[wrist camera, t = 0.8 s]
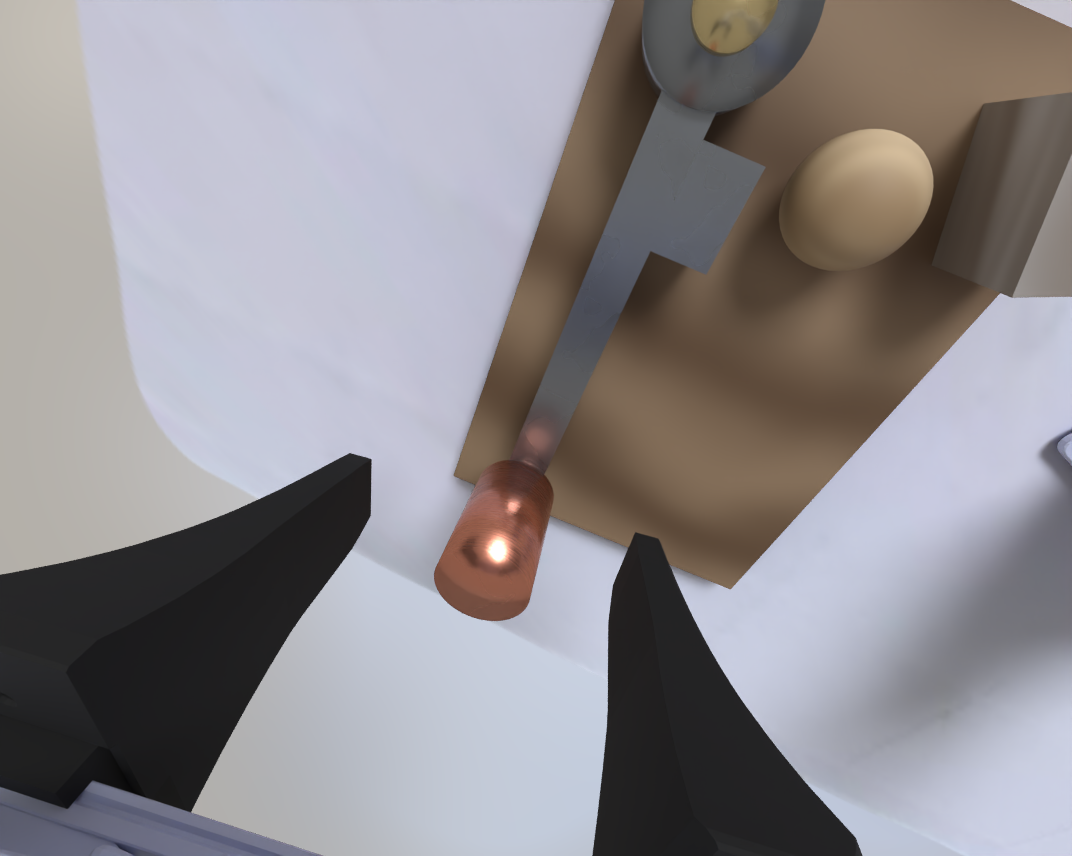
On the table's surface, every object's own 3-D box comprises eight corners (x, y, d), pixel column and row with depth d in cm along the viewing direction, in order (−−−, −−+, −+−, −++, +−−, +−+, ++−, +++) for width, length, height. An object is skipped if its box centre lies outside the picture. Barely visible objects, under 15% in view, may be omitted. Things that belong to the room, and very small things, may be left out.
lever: (685, -91, 13) (733, -349, 6) (843, -20, 13) (1060, -198, 6) (478, 466, 23) (413, 593, 16) (566, 502, 23) (537, 643, 16)
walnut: (813, 110, 14) (862, 100, 11) (925, 159, 14) (1003, 162, 11) (743, 232, 16) (769, 252, 13) (842, 275, 16) (890, 305, 13)
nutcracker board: (664, -126, 14) (678, -271, 9) (1141, 88, 14) (1396, 57, 9) (462, 459, 25) (422, 530, 20) (726, 567, 25) (745, 661, 21)
